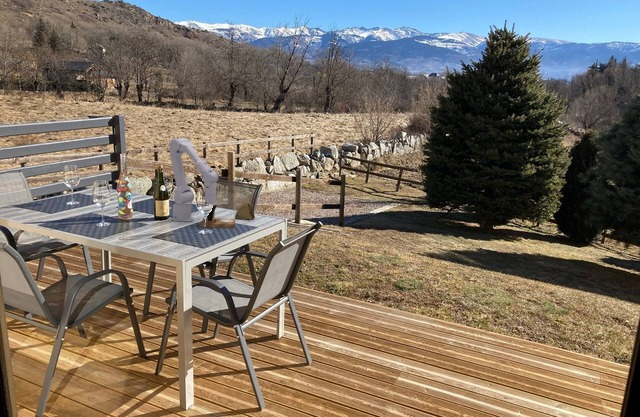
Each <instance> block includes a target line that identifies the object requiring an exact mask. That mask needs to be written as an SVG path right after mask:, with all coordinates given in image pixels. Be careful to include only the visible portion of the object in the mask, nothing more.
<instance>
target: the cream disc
mask: <svg viewBox="0 0 640 417" xmlns="http://www.w3.org/2000/svg"><path fill="white" fill-rule="evenodd" d="M233 219H234V218H222V219H221V220H220V222H222V223H232V222H233Z"/></svg>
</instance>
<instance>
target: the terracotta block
mask: <svg viewBox="0 0 640 417" xmlns="http://www.w3.org/2000/svg"><path fill="white" fill-rule="evenodd" d="M205 218H206V217H205ZM215 218H216V210H215V211H214V213H213V219H212V221H208V219H207V218H206V222H215Z"/></svg>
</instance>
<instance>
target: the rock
mask: <svg viewBox="0 0 640 417" xmlns="http://www.w3.org/2000/svg"><path fill="white" fill-rule="evenodd" d="M235 218H236V219H238V220H244V219H252V220H255V219H256V216H255V213H254V210H253V208H252V206H251V204H250V203H249V202H244V203H243V204H241V206H240V207H239V209H237V210H236V213H235V215H234V219H235ZM254 218H255V219H254ZM236 219H235V220H236Z"/></svg>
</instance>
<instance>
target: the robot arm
mask: <svg viewBox="0 0 640 417" xmlns="http://www.w3.org/2000/svg"><path fill="white" fill-rule="evenodd" d="M168 147H169V157H170V161H171V162H170V163H171V167H172V172H173V175H174V180H175V185H176V188H175V190H173V193H174V197H173V198H174V201H175V203H174V204H173V206H172V222H191V221H192V220H193V219H194V217H193V216H192V204H193V201H194V199H195V194H194V192H193V190H192V187H191V186H189V185H188V181H187V177H186V173H185V169H184V164H183V160H182V156H183V155H184V153H186V155H187V156H188V157H189V158H190V159H191V160H192V162H194V163H195V168H196V170H197V171H198V172H199V174H200V175H201V176H202V181H203V184H204V203H205V202H207V203H211V204H212V205H213V208H212V211H211V212H210V213H209V215H208V216H207V219H208V221H212V219H213V213H214V211H215V212H216V208H217V205H219V202H217V182H218V181H219V174H218V173H217V171H216V170H213V169H212V168H211V167H210V166H209V165H208V164H209V163H208V162H207V161H205V160H203V159H201V158H200V156H199V155H198V153H197V151H196V149H195V148H194V147H193V143H192V142H191V140H190V138H188V137H181V138H174V137H173V138H172V139H171V140H170V141H169V142H168Z"/></svg>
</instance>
